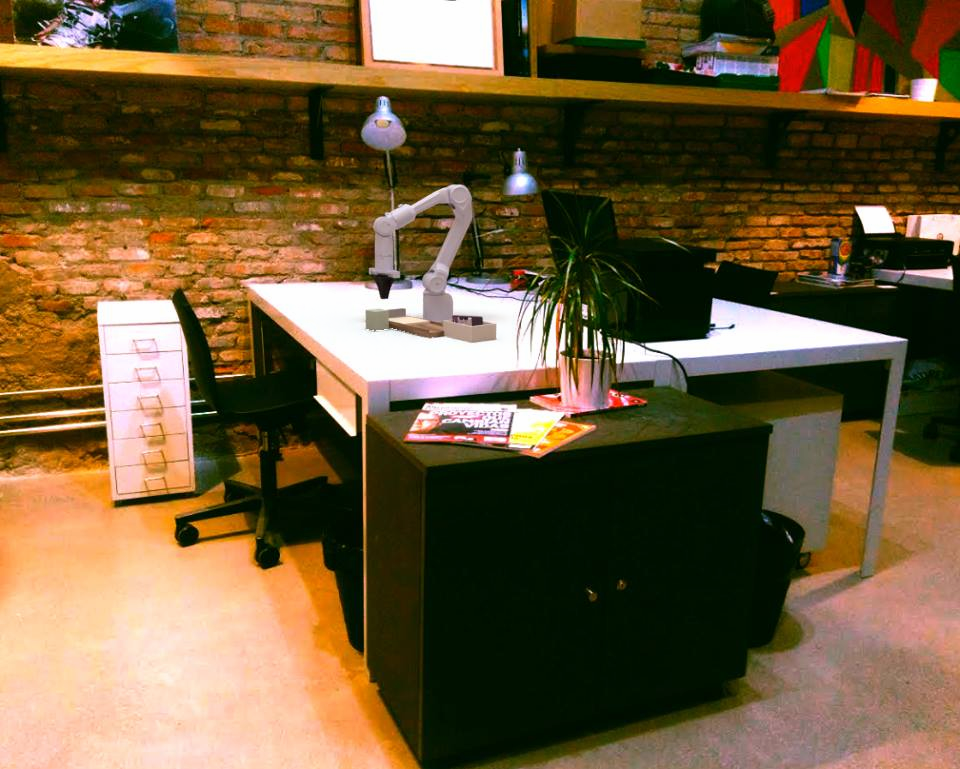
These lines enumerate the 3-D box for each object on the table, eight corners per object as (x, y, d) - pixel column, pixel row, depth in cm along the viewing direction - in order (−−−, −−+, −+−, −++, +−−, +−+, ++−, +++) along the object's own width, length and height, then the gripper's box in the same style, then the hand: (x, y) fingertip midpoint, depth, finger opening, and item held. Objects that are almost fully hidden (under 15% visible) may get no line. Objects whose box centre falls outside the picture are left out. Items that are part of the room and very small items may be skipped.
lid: (405, 317, 273) (405, 307, 272) (430, 323, 263) (430, 312, 262) (379, 320, 266) (379, 310, 266) (403, 326, 257) (403, 315, 256)
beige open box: (467, 332, 256) (467, 317, 255) (496, 339, 247) (496, 323, 246) (442, 335, 251) (442, 320, 250) (471, 342, 241) (471, 326, 240)
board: (406, 322, 274) (406, 315, 273) (459, 334, 254) (459, 326, 253) (377, 325, 267) (377, 318, 266) (429, 338, 247) (429, 330, 246)
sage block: (379, 327, 263) (379, 308, 262) (388, 330, 260) (388, 310, 258) (365, 329, 260) (365, 309, 259) (374, 331, 256) (374, 311, 255)
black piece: (483, 315, 247) (453, 313, 249) (479, 323, 243) (448, 322, 245) (484, 335, 251) (455, 334, 253) (480, 344, 246) (450, 342, 248)
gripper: (360, 254, 271) (361, 297, 274) (386, 257, 260) (386, 302, 264) (379, 253, 276) (379, 295, 279) (405, 257, 265) (405, 300, 268)
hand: (384, 298), depth 271 cm, fingers closed
